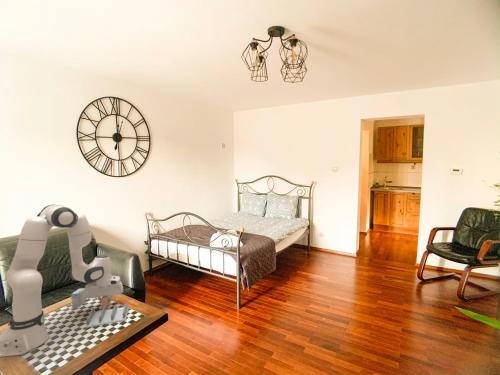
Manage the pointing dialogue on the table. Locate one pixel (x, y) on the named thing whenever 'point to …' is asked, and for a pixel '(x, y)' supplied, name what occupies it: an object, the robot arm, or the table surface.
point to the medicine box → (78, 297)
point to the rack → (107, 316)
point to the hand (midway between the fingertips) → (105, 302)
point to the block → (105, 301)
